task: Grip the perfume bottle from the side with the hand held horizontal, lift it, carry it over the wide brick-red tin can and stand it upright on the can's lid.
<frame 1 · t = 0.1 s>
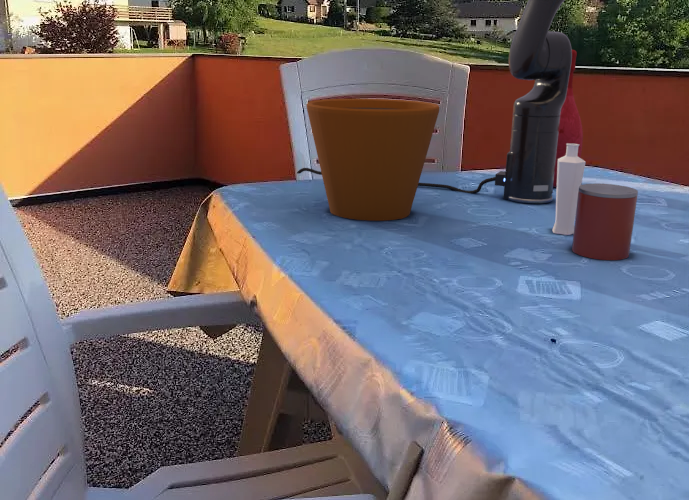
flower pot: (369, 213, 133), on the table
wine bottle: (555, 185, 163), on the table
tin can: (600, 252, 109), on the table
perfume bottle: (564, 233, 121), on the table
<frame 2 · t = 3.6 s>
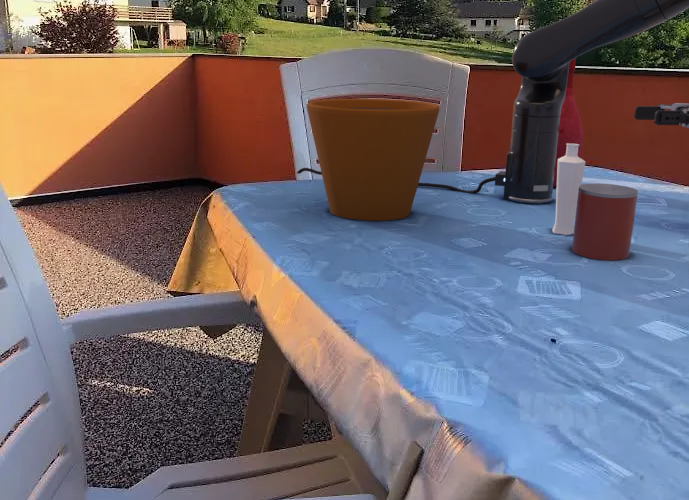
hand: (644, 115, 115), 20 cm above the table, tool horizontal, fingers open, 8 cm apart
nothing on the table moved.
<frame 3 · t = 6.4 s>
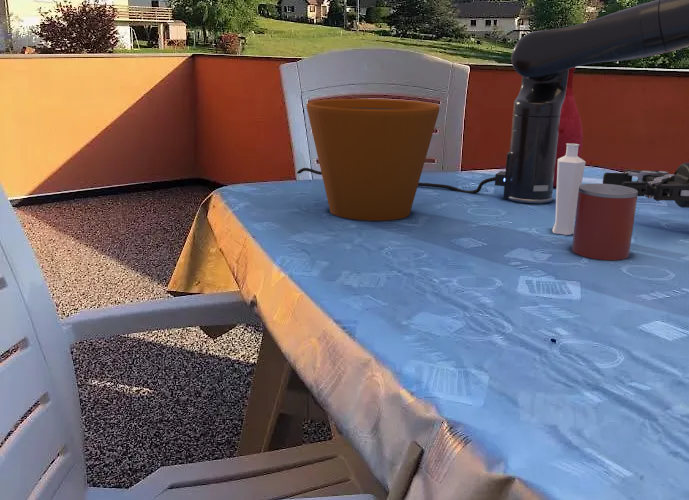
hand: (612, 183, 119), 9 cm above the table, tool horizontal, fingers open, 8 cm apart
nothing on the table moved.
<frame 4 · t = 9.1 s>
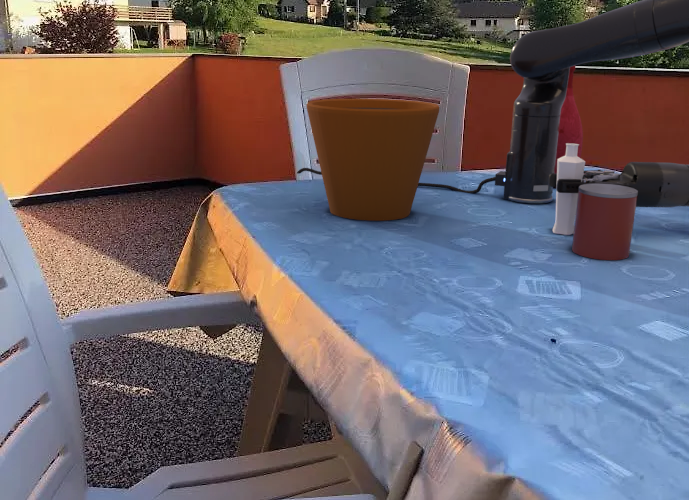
hand: (553, 182, 119), 9 cm above the table, tool horizontal, fingers closed on perfume bottle, 4 cm apart
perfume bottle: (564, 233, 121), on the table, touching gripper
everything else where it was.
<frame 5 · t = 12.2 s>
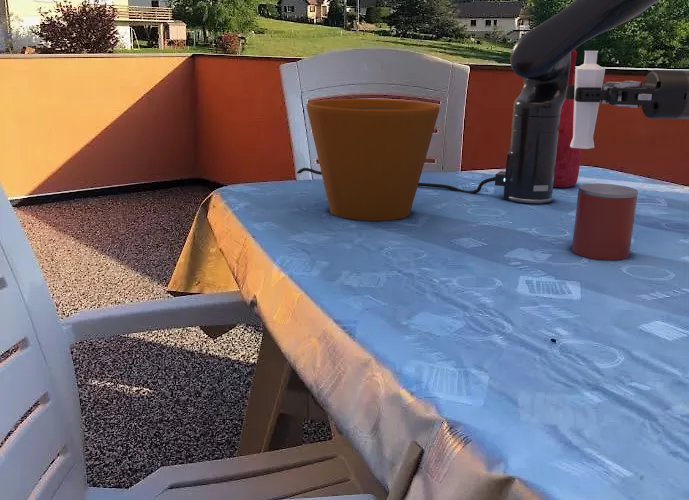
hand: (571, 93, 112), 23 cm above the table, tool horizontal, fingers closed on perfume bottle, 4 cm apart
perfume bottle: (582, 148, 114), point 15 cm above the table, touching gripper
everything else where it was.
when the fingers open (19 cm above the table, at t = 15.6 s): perfume bottle stays where it is, resting on tin can.
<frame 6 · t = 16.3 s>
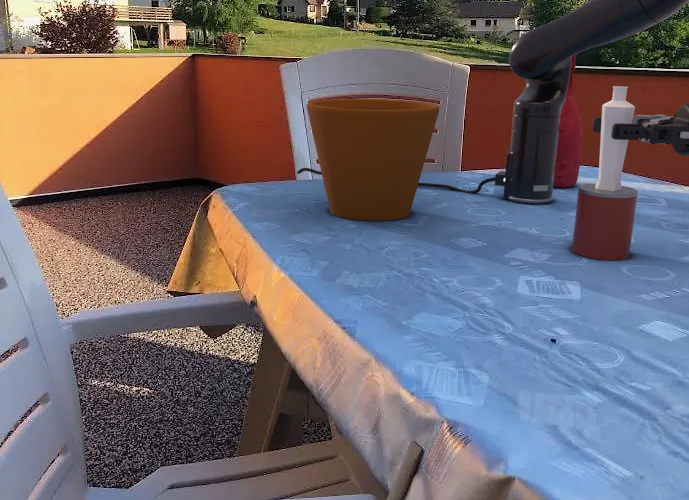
hand: (602, 127, 104), 19 cm above the table, tool horizontal, fingers open, 8 cm apart
tin can: (600, 252, 109), on the table, touching perfume bottle
perfume bottle: (608, 189, 107), point 10 cm above the table, touching tin can
everything else where it was.
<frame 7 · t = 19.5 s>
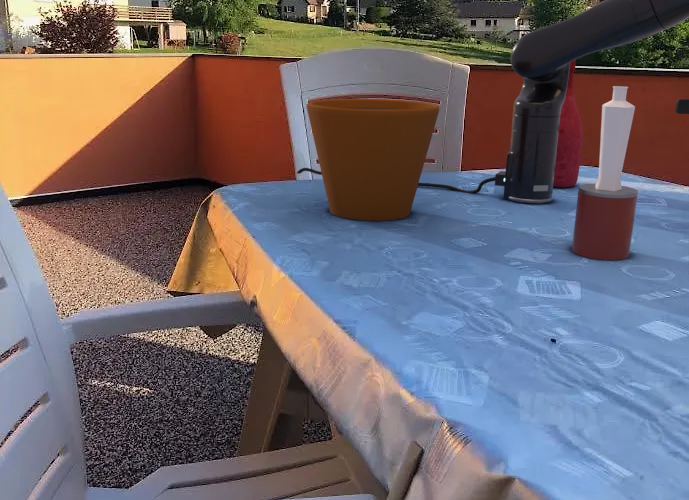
nothing on the table moved.
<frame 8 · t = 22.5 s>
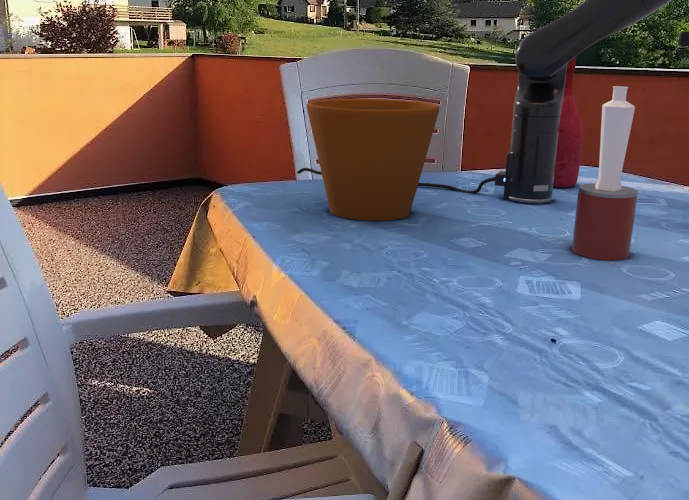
nothing on the table moved.
at the end: perfume bottle 0.1 cm off-centre on the tin can, point 9.8 cm above the tin can's base; perfume bottle tilted 0°; tin can tilted 0° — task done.
